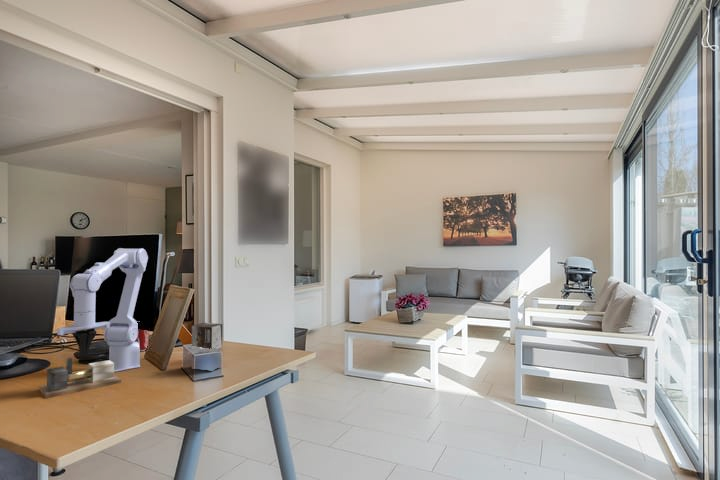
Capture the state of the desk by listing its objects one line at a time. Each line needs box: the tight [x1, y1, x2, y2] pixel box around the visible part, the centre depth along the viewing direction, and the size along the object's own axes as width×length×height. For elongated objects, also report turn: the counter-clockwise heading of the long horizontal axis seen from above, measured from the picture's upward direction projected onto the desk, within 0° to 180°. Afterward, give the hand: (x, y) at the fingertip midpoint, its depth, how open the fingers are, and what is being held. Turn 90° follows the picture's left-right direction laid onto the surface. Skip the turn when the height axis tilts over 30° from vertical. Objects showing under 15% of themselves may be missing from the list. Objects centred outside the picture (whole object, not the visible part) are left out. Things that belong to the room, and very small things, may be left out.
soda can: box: [134, 329, 150, 352], centre depth 178 cm, size 5×5×12 cm
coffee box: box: [191, 322, 224, 356], centre depth 154 cm, size 9×6×16 cm
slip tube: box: [65, 356, 92, 382], centre depth 132 cm, size 9×3×7 cm, turn 137°
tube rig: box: [38, 360, 122, 399], centre depth 133 cm, size 20×10×6 cm, turn 137°
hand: (84, 353), depth 134 cm, fingers closed
